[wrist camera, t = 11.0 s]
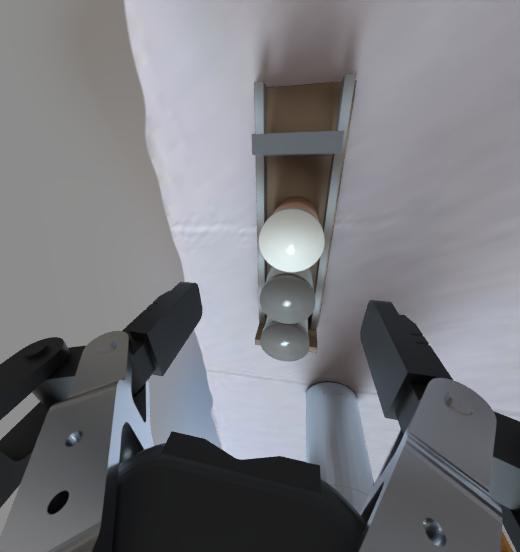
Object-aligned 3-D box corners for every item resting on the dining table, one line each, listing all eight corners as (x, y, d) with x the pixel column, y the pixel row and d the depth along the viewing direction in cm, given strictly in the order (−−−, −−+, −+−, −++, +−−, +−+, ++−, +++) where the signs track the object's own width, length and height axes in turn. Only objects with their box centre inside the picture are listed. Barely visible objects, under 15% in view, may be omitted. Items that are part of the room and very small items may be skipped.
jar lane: (317, 322, 32) (319, 353, 27) (260, 316, 34) (252, 344, 29) (354, 84, 19) (372, 55, 14) (256, 91, 20) (239, 68, 15)
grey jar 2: (306, 319, 31) (306, 364, 24) (270, 315, 32) (260, 357, 25) (310, 288, 28) (311, 329, 22) (270, 284, 29) (259, 322, 23)
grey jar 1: (310, 286, 28) (312, 326, 21) (270, 282, 29) (259, 320, 22) (315, 248, 26) (318, 280, 19) (271, 245, 27) (258, 276, 20)
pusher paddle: (329, 154, 21) (340, 152, 14) (269, 156, 22) (252, 154, 15) (331, 140, 20) (344, 130, 13) (269, 142, 21) (251, 134, 14)
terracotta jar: (322, 195, 23) (329, 210, 16) (316, 243, 25) (320, 274, 18) (272, 194, 24) (258, 209, 17) (271, 241, 26) (259, 269, 19)
